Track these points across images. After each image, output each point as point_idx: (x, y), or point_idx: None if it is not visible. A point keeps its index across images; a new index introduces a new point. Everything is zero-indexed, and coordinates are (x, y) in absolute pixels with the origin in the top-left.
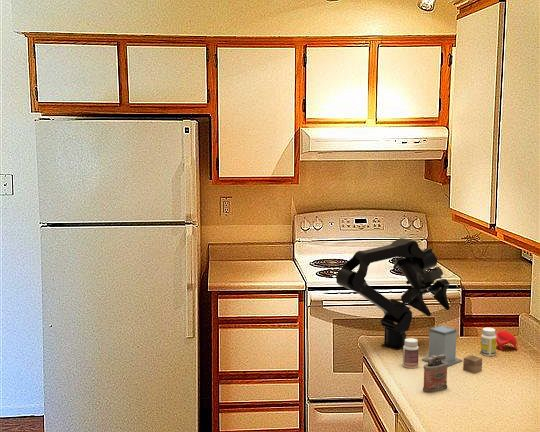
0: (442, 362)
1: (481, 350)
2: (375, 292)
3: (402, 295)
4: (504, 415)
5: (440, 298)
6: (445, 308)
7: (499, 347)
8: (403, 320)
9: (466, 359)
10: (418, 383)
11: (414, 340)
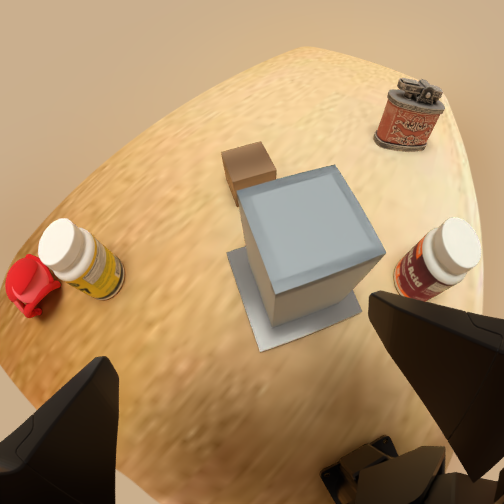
0: (401, 97)
1: (117, 279)
2: None
3: None
4: (324, 62)
5: (81, 490)
6: (118, 398)
7: (57, 286)
8: (420, 474)
9: (272, 163)
10: (425, 175)
11: (453, 232)
